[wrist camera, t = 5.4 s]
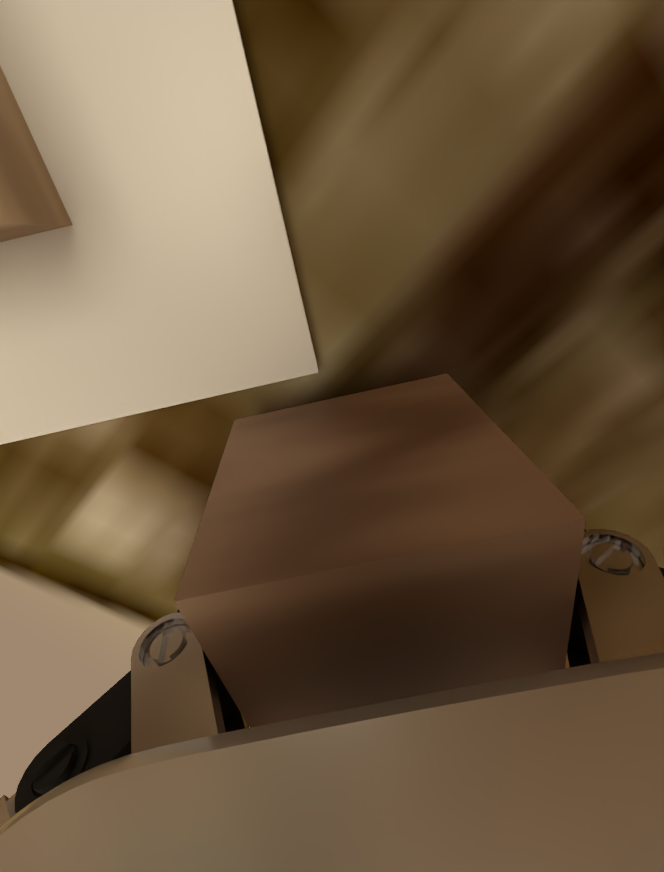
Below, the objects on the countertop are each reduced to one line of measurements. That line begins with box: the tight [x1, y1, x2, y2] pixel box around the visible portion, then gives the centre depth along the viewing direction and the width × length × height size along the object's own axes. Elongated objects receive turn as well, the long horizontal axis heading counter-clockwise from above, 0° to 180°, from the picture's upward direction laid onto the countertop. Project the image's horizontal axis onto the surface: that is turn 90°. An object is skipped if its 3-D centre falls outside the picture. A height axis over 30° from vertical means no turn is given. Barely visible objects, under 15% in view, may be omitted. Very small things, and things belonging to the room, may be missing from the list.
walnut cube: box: [174, 374, 586, 728], centre depth 10 cm, size 6×6×6 cm
